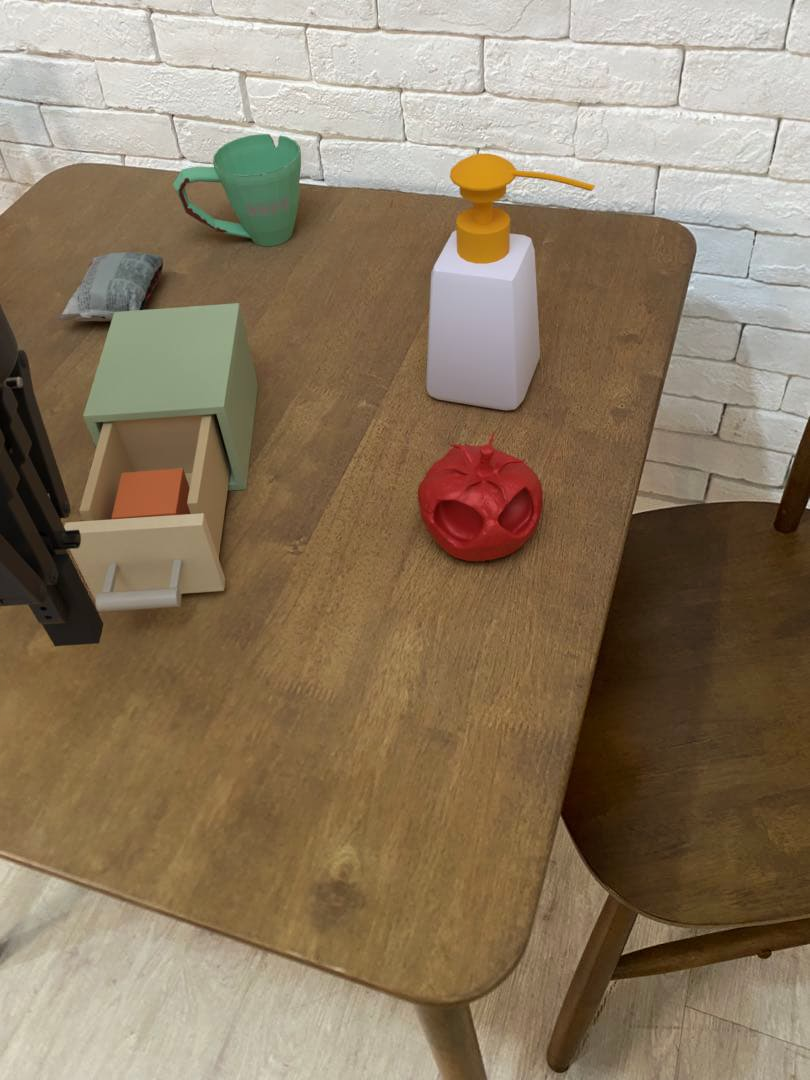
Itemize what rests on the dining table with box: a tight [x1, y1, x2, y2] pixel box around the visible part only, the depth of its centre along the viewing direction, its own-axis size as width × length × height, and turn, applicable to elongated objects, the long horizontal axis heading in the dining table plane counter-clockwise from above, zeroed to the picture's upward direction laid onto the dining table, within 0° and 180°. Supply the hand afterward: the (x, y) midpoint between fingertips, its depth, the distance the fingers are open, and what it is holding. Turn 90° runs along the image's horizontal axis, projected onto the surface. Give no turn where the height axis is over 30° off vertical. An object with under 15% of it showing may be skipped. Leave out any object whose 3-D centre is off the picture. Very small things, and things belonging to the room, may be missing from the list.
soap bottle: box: [425, 153, 596, 411], centre depth 82 cm, size 10×14×22 cm
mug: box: [172, 133, 302, 247], centre depth 108 cm, size 15×10×10 cm
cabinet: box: [82, 302, 259, 492], centre depth 84 cm, size 15×12×10 cm
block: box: [112, 468, 190, 519], centre depth 75 cm, size 5×5×5 cm
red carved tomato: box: [417, 430, 544, 562], centre depth 75 cm, size 10×10×9 cm
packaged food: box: [56, 251, 164, 322], centre depth 102 cm, size 9×12×5 cm
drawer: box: [63, 414, 230, 613], centre depth 75 cm, size 18×10×8 cm, turn 2°
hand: (79, 634), depth 57 cm, fingers closed
